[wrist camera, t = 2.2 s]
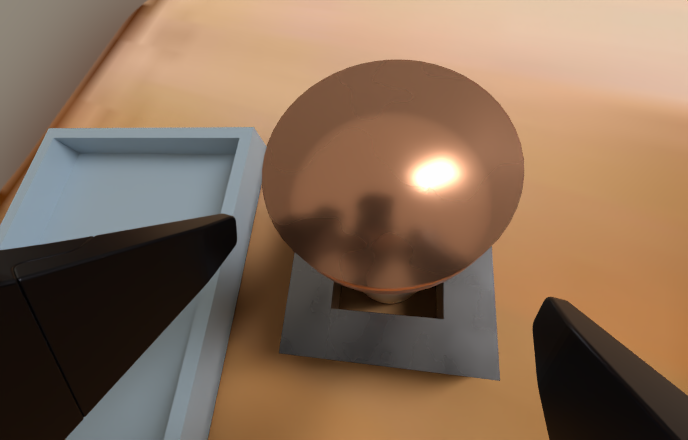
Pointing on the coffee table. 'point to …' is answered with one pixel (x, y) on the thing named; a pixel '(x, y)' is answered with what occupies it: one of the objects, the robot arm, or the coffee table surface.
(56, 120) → the coffee table surface
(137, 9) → the coffee table surface
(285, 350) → the block
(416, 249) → the pin
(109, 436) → the tray
